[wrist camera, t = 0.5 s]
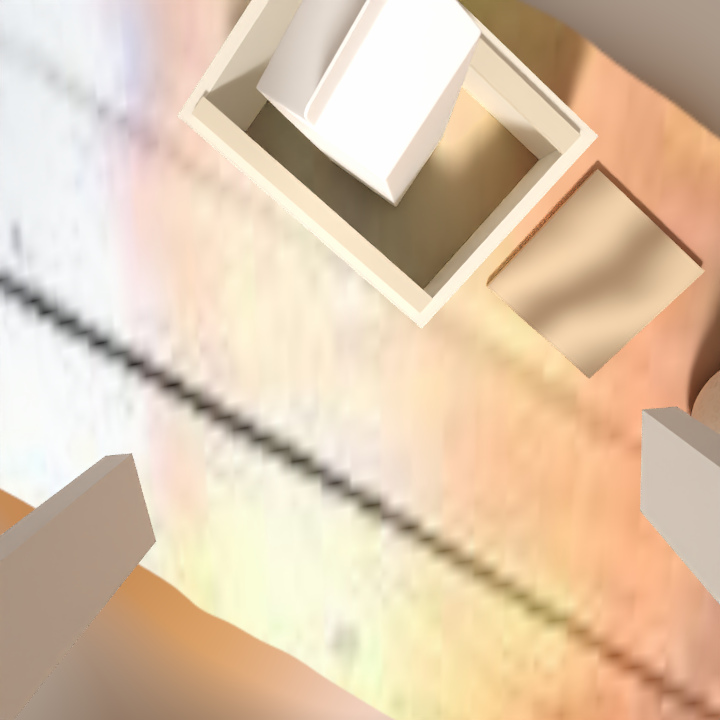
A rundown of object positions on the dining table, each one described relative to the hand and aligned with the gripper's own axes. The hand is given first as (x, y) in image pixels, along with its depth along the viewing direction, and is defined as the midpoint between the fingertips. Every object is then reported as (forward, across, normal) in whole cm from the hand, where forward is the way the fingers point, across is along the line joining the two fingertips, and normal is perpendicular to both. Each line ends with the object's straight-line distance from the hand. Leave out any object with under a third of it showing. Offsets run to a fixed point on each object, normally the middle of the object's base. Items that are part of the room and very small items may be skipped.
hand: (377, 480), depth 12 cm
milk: (+27, +1, +12) cm, 30 cm away
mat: (+27, +15, +1) cm, 31 cm away
